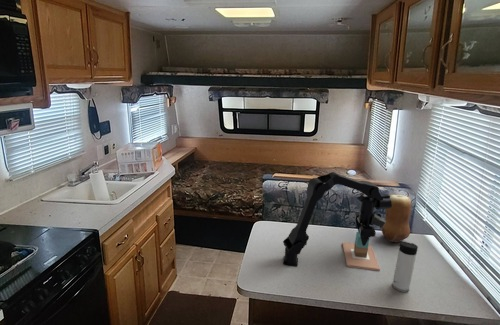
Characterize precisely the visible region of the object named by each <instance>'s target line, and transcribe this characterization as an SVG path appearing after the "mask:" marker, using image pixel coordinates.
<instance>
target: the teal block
mask: <svg viewBox="0 0 500 325" xmlns="http://www.w3.org/2000/svg"><path fill="white" fill-rule="evenodd" d="M370 238H371V237H370ZM370 238H369V239H368V241H367V243H366V245H365V246H363V245H362V241H361V237H360V233H359V232H358V231H356V234H355V240H354V243H355V242H356V246H357V247H362V248H368V245H369V244H370V243H369V242H370Z"/></svg>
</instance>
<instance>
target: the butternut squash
mask: <svg viewBox="0 0 500 325" xmlns="http://www.w3.org/2000/svg"><path fill="white" fill-rule="evenodd" d="M390 199H391V203H392V206H391V208H390V209H384V210H385V212H384V213H385V218H384V220H385V221H386V223H385V224H384V226H383V228H381V233H382V235H383V237H384V238H385V239H387V240H388V241H389V242H391V243H401V242H403V241H404V240H405V239H408V238H409V237H410V234H411V228H410V223H409V222H410V219H411V215H412V200H411V198H409V196H407V195H403V194H390Z"/></svg>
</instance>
